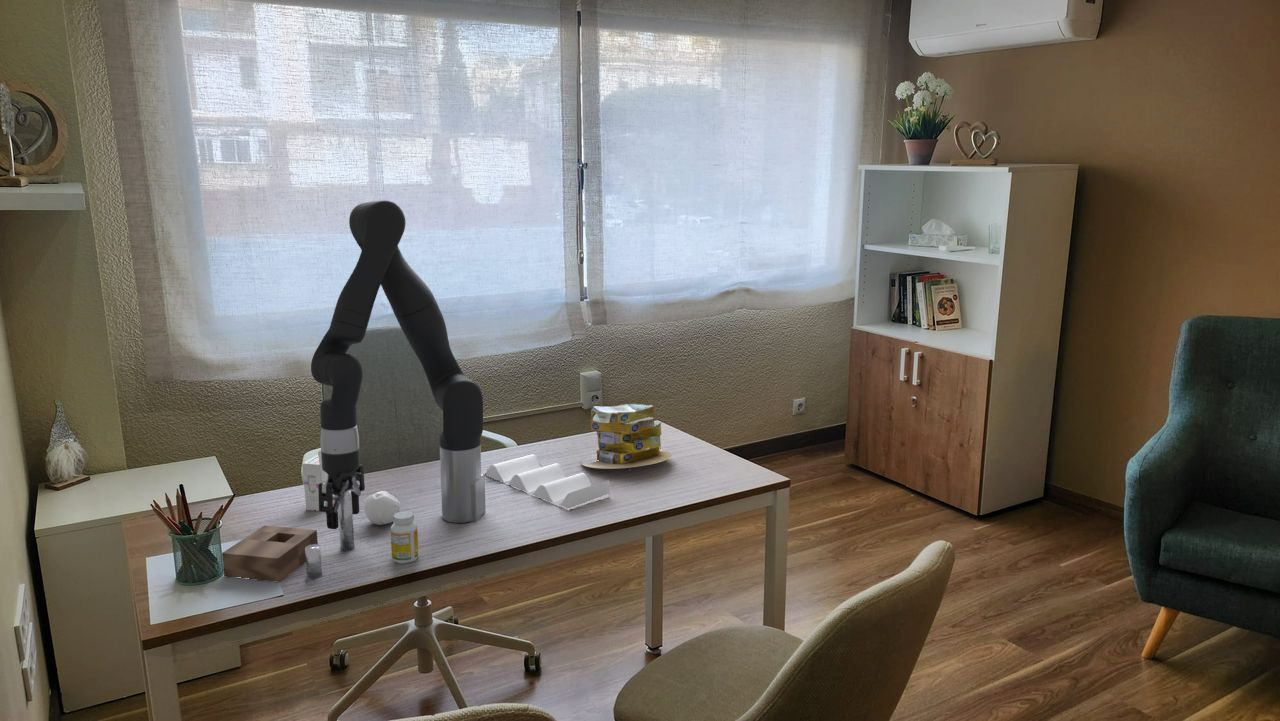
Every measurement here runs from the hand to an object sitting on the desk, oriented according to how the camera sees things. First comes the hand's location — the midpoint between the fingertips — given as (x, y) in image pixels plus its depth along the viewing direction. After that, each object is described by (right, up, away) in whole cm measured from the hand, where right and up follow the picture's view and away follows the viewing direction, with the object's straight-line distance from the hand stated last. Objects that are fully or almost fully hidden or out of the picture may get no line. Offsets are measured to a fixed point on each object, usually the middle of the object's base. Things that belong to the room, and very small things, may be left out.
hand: (343, 520), depth 183 cm
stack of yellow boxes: (+59, +5, +57) cm, 82 cm away
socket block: (-12, -8, -6) cm, 16 cm away
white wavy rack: (+38, +1, +40) cm, 55 cm away
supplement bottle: (+14, -7, -3) cm, 16 cm away
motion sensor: (+4, -4, +15) cm, 16 cm away
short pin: (-2, -9, -11) cm, 14 cm away
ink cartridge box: (-13, -1, +26) cm, 29 cm away
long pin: (0, -6, +1) cm, 6 cm away
